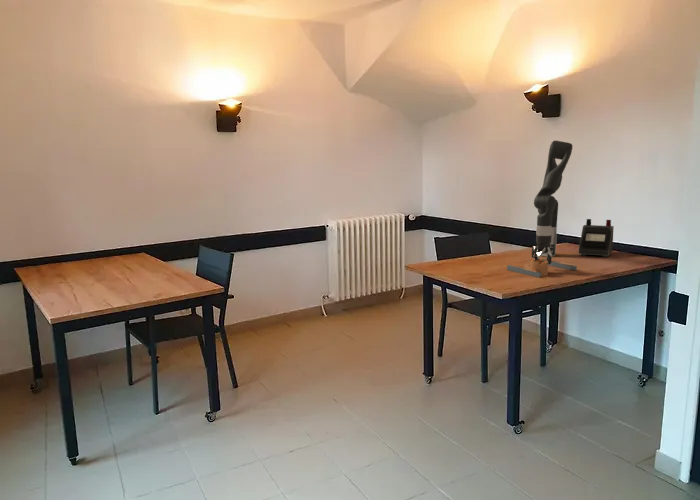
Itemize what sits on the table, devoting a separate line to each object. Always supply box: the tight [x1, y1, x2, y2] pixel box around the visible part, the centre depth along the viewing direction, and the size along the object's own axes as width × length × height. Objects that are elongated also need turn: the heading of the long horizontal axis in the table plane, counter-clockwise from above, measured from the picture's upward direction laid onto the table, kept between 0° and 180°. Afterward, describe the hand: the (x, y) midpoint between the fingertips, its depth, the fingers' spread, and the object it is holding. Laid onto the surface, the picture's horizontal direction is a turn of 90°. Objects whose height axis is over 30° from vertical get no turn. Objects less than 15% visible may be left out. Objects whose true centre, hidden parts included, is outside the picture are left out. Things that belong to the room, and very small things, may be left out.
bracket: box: [523, 259, 549, 277], centre depth 285 cm, size 18×8×7 cm, turn 1°
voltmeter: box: [578, 218, 614, 259], centre depth 323 cm, size 16×16×20 cm
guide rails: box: [506, 258, 578, 278], centre depth 289 cm, size 22×27×3 cm
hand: (543, 264), depth 288 cm, fingers open, 8 cm apart
